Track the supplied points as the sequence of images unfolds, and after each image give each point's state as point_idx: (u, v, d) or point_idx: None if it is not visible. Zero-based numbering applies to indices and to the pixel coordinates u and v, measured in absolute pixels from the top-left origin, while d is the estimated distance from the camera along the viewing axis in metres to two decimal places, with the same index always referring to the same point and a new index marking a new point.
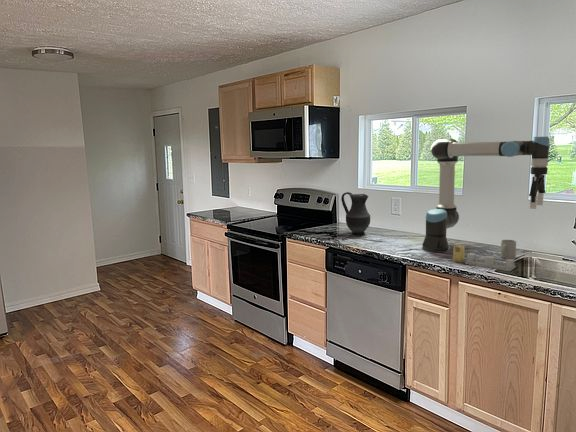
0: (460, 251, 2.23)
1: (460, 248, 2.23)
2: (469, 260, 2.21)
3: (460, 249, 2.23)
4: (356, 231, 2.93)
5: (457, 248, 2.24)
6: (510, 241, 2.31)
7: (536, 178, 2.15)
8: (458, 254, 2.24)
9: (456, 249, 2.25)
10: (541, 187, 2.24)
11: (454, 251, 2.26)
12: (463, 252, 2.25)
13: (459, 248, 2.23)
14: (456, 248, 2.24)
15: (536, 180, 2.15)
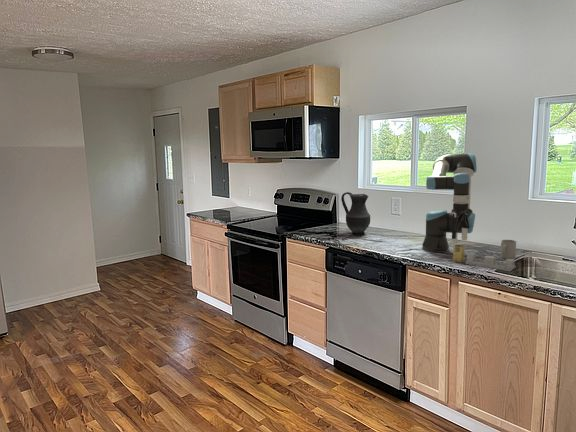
0: (460, 251, 2.23)
1: (460, 248, 2.23)
2: (469, 260, 2.21)
3: (460, 249, 2.23)
4: (356, 231, 2.93)
5: (457, 248, 2.24)
6: (510, 241, 2.31)
7: (456, 215, 2.17)
8: (458, 254, 2.24)
9: (456, 249, 2.25)
10: (464, 222, 2.26)
11: (454, 251, 2.26)
12: (463, 252, 2.25)
13: (459, 248, 2.23)
14: (456, 248, 2.24)
15: (456, 217, 2.17)
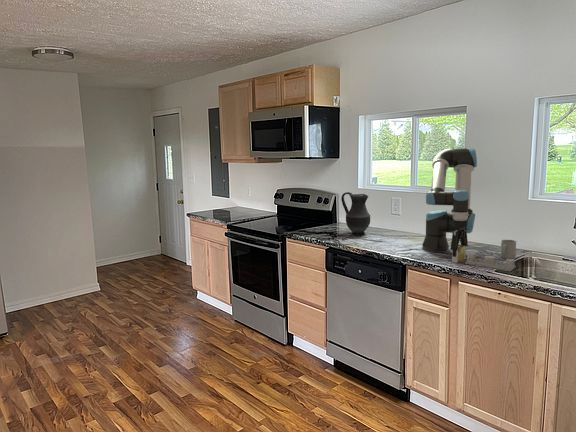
0: (460, 251, 2.23)
1: (460, 248, 2.23)
2: (469, 260, 2.21)
3: (460, 249, 2.23)
4: (356, 231, 2.93)
5: None
6: (510, 241, 2.31)
7: (455, 233, 2.19)
8: (458, 254, 2.24)
9: None
10: (463, 240, 2.27)
11: None
12: (463, 252, 2.25)
13: (459, 248, 2.23)
14: None
15: (456, 235, 2.19)
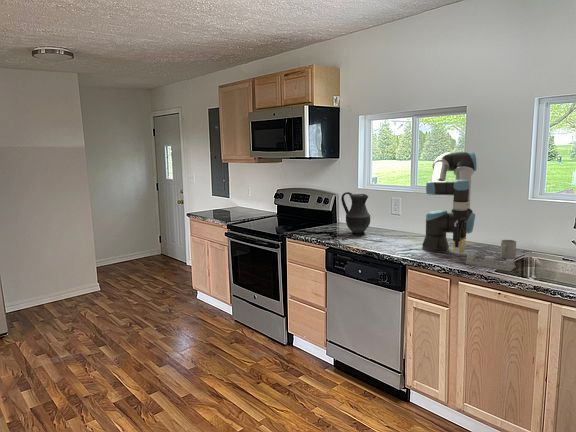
0: (460, 243, 2.23)
1: (460, 240, 2.23)
2: (469, 260, 2.21)
3: (460, 241, 2.23)
4: (356, 231, 2.93)
5: None
6: (510, 241, 2.31)
7: (456, 225, 2.19)
8: None
9: None
10: (462, 231, 2.26)
11: (454, 243, 2.25)
12: (463, 244, 2.25)
13: None
14: None
15: (456, 226, 2.19)
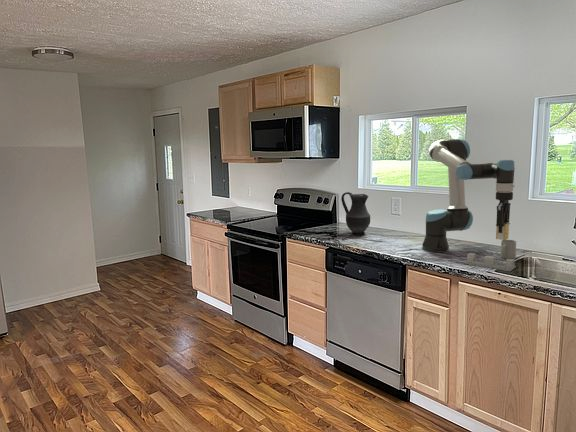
0: (504, 228, 2.06)
1: (504, 225, 2.06)
2: (469, 260, 2.21)
3: (504, 226, 2.06)
4: (356, 231, 2.93)
5: None
6: (510, 241, 2.31)
7: (500, 208, 2.02)
8: None
9: None
10: (506, 216, 2.09)
11: (497, 229, 2.09)
12: (507, 229, 2.08)
13: None
14: None
15: (501, 210, 2.02)
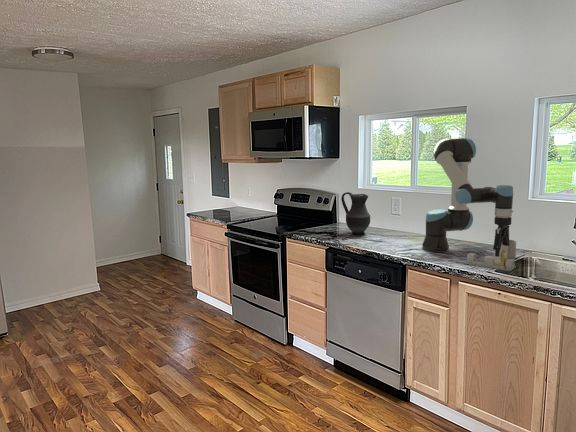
0: (502, 256, 2.09)
1: (502, 253, 2.08)
2: (469, 260, 2.21)
3: (502, 254, 2.08)
4: (356, 231, 2.93)
5: None
6: (510, 241, 2.31)
7: (499, 231, 2.04)
8: None
9: None
10: (505, 238, 2.12)
11: None
12: (505, 257, 2.10)
13: (501, 253, 2.09)
14: None
15: (499, 233, 2.04)
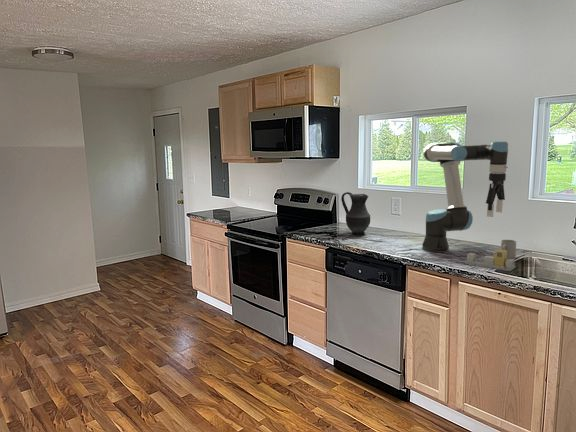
0: (502, 256, 2.09)
1: (502, 253, 2.08)
2: (469, 260, 2.21)
3: (502, 254, 2.08)
4: (356, 231, 2.93)
5: (499, 253, 2.10)
6: (510, 241, 2.31)
7: (493, 185, 2.06)
8: (500, 259, 2.10)
9: (498, 254, 2.10)
10: (500, 194, 2.16)
11: (495, 256, 2.11)
12: (505, 257, 2.10)
13: (501, 253, 2.09)
14: (498, 253, 2.10)
15: (493, 187, 2.06)
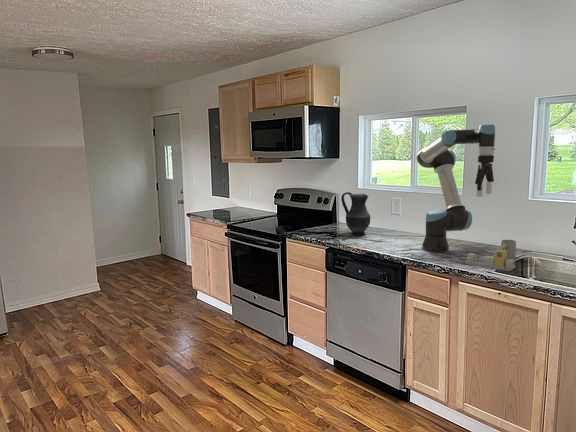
0: (502, 256, 2.09)
1: (502, 253, 2.08)
2: (469, 260, 2.21)
3: (502, 254, 2.08)
4: (356, 231, 2.93)
5: (499, 253, 2.10)
6: (510, 241, 2.31)
7: (482, 166, 2.15)
8: (500, 259, 2.10)
9: (498, 254, 2.10)
10: (489, 175, 2.24)
11: (495, 256, 2.11)
12: (505, 257, 2.10)
13: (501, 253, 2.09)
14: (498, 253, 2.10)
15: (482, 168, 2.15)
